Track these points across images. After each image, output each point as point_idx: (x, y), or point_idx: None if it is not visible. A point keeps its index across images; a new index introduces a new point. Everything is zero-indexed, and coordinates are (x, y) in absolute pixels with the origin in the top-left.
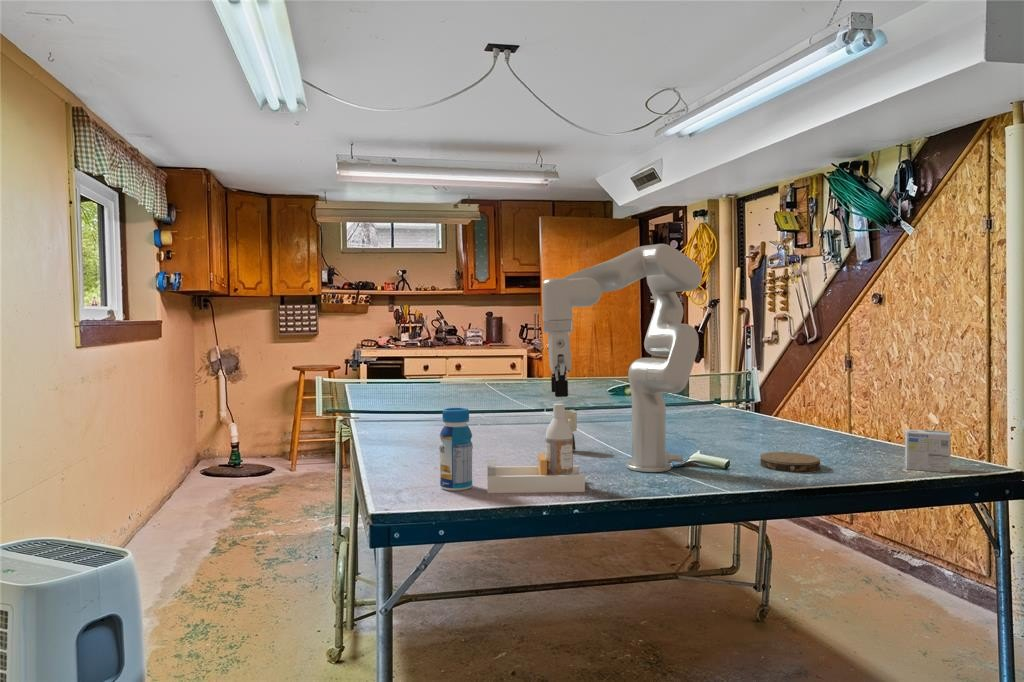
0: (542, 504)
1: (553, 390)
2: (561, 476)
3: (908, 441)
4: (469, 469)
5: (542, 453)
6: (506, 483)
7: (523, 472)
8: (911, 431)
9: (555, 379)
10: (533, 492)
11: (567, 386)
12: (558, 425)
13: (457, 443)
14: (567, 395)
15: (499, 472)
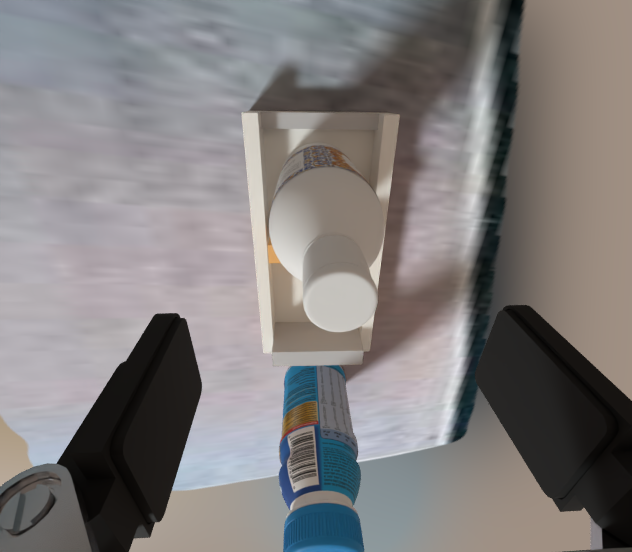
0: (473, 232)
1: (196, 390)
2: (389, 189)
3: None
4: (332, 387)
5: (268, 250)
6: None
7: (270, 274)
8: None
9: (160, 480)
10: None
11: (589, 368)
12: (374, 254)
13: (355, 459)
14: (525, 310)
15: (273, 323)
